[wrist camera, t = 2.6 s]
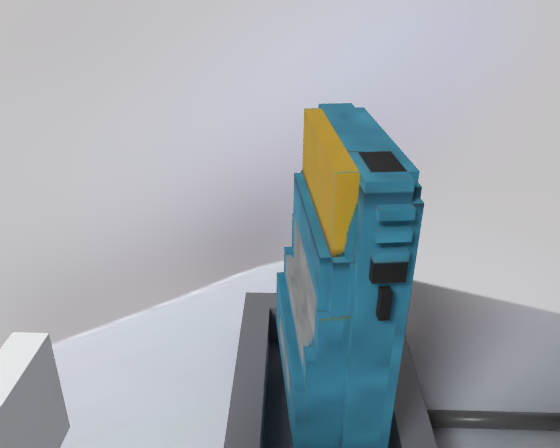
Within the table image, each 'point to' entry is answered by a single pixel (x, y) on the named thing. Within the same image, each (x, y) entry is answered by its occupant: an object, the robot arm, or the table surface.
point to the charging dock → (407, 407)
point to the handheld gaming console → (347, 280)
